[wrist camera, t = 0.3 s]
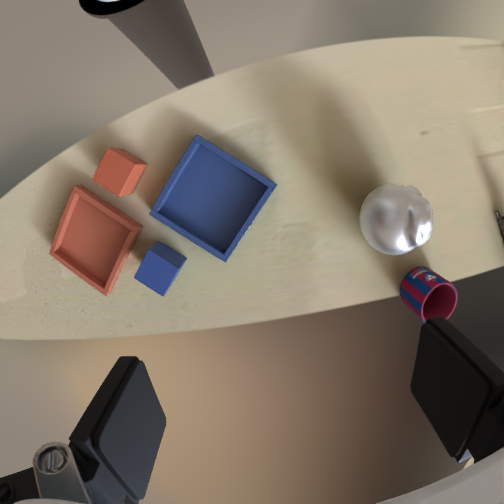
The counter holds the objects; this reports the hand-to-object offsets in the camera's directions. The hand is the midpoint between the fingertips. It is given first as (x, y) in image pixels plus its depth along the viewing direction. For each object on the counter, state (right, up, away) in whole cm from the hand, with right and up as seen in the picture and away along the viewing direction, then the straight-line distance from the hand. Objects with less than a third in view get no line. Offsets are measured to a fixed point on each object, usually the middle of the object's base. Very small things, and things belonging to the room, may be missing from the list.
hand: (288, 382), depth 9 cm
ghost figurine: (+17, +9, +29) cm, 35 cm away
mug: (+25, -3, +33) cm, 41 cm away
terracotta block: (-18, +15, +28) cm, 36 cm away
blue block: (-13, +3, +31) cm, 34 cm away
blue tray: (-6, +11, +29) cm, 31 cm away
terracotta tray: (-24, +6, +30) cm, 39 cm away
